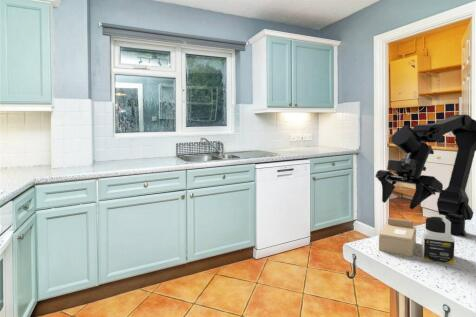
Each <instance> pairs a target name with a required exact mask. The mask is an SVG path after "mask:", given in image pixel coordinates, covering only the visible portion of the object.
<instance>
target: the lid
mask: <svg viewBox="0 0 476 317" xmlns="http://www.w3.org/2000/svg"><path fill="white" fill-rule="evenodd" d="M415 229H416V227H415V226H414V220H408V219H403V218H402V219H401V218H393V217H388V218H387V222H386V223H385V224H384V226H383V228H382V229H381V232H379V235H380V236H383V237H389V238H395V239H401V240H407V241H412V238H413V235H414V232H415Z"/></svg>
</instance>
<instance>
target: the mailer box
mask: <svg viewBox="0 0 476 317" xmlns="http://www.w3.org/2000/svg"><path fill="white" fill-rule="evenodd" d="M416 242H417V229H416V228H415V232H414V235H413V238H412V241H407V240H401V239H395V238H389V237H383V236H380V234H379V236H378V251H382V252H386V253H391V254H396V255H401V256H407V257H413V254H414V251H415V247H416V245H417V244H416Z"/></svg>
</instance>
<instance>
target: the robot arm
mask: <svg viewBox="0 0 476 317" xmlns="http://www.w3.org/2000/svg"><path fill="white" fill-rule="evenodd" d="M450 132H451V134H452V135H453V136H454V142H455V144H456V146H457V151H456V156H455V158H454V162H453V167H452V171H451V175H450V178H449V182H448V186H447V187H446V188H444V187H443V186H444V185H443V183H442V181H440V180H438V179H437V178H436V176H432V175H425V174H424V175H423V174H422V172H426V171H427V170H426V169H427V167H426V166H425V165H426V163H427V160H428V159H429V158H428V157H429V155H434V153H435V151H434V150H433V148H432V145H428V143H433V144H435V143H437V142H439V141H440V140H442V139H443V138H444V135H446V134H447V133H450ZM391 143H392V144H393V145H394V146H396V147H397V148H398V149H399V150H401V151H402V152H403V153H405V157H404V158H400V160H395V159H388V163H387V168H386V169H385V170H383V169H379V170H378V171H376V173H375V176H374V177H375V178H376V179H377V180H378V181H379V182H380V184H381V189H382V190H381V191H382V194H381V197H382V198H381V202H382V203H384V204H386V202H387V201H388V200H389V199H390V196H391V194H392V193H393V192H394V190H395V188H396V186H395V185H396V184H397V183H403V184H409V185H415V192H414V194H413V196H412V198H411V200H410V204H409V209H410V210H414V209H415V208H416V207H417V206H418V205H420V204H421V203H423V202H424V201H425V200H426V199H428V198H429V197H431V196H433V195H434V196H436V193H438V198H437V201H436V206H437V211H438V215H441V216H444V218H445V219H447V220H449V221H450V222H451V235H452V236H460V237H467V232H466V221H471V220H472V219H473V217H474V211H473V210H472V208H471V206H470V205H469V201H470V199H469V196H468V194H467V192H466V188H467V185H468V181H469V177H470V173H471V168H472V165H473V162H474V158H475V153H476V119H473V118H472V117H471V116H470V115H469V114H453V115H451V116H449V117H447V118H445V119H441V120H439V121H435V122H434V123H424V124H423V123H422V124H415V125H414V126H413V128H412V127H411V126H410V125H402V127H401V128H400V129H399V130H398V129H397V130H396V131H395V132H394V134H392V136H391ZM391 171H393V173H392V172H391ZM395 174H396V175H395ZM443 188H444V189H443Z"/></svg>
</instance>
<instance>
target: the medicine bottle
mask: <svg viewBox="0 0 476 317" xmlns="http://www.w3.org/2000/svg"><path fill="white" fill-rule="evenodd" d="M455 241H456V240H455V239H454V237H453V235H451V222H450V221H449V220H447V219H445V217H440V216H429V217H427V218H426V219H425V229H422V230H421V254H422V258H423V260H425V261H430V262H431V261H432V262H439V263H444V264H452V265H453V264H455Z"/></svg>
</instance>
